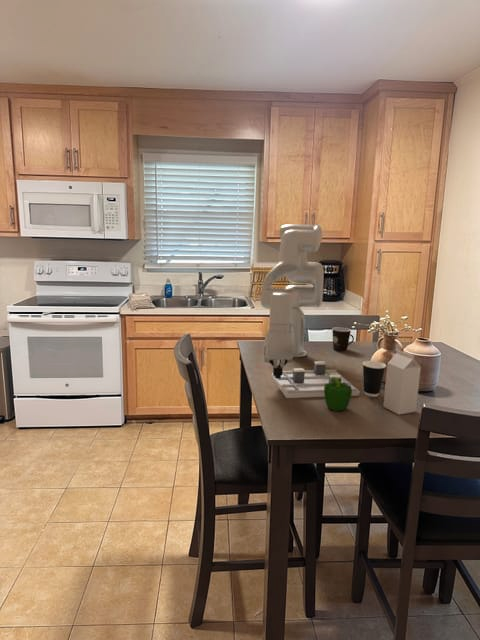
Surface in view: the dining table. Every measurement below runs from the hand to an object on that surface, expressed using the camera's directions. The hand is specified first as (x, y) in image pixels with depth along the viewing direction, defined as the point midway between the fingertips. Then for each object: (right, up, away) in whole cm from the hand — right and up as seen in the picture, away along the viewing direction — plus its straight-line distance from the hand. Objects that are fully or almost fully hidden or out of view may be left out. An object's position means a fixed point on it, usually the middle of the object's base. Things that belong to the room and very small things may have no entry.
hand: (277, 377), depth 162 cm
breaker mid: (+8, -2, +2) cm, 8 cm away
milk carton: (+38, -8, -17) cm, 42 cm away
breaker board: (+13, -3, +3) cm, 14 cm away
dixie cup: (+33, -6, -4) cm, 33 cm away
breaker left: (+17, 0, +11) cm, 20 cm away
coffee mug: (+35, +6, +52) cm, 63 cm away
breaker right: (+20, -3, -4) cm, 20 cm away
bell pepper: (+18, -8, -17) cm, 26 cm away
